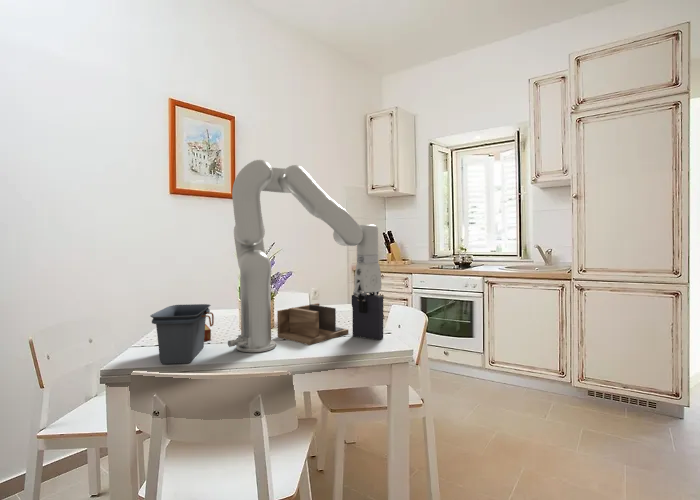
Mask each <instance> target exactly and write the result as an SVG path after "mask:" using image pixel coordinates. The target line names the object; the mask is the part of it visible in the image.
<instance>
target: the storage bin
mask: <svg viewBox="0 0 700 500" xmlns="http://www.w3.org/2000/svg"><path fill="white" fill-rule="evenodd" d="M211 306H212V305H211V304H207V303H206V304H205V303H204V304H202V303H201V304H200V303H199V304H196V303H195V304H194V303H193V304H192V303H191V304H173V305H169V306H166V307H165V308H162V309H160V310H158V311H156V312H154V313H152V314H150V316H149V317H151V318H152V319H151V324H153V325H155V326H156V334H157V335H156V336H157V344H158V353H159V354H158V355H159V362H160V363H161V364H163V365H164V364H165V365H167V364H170V365H171V364H188V363H191V362H192V361H194V359H195V358H196V357H197V355H198V354H199V353H200V352H201V351H202V350H203V349H204V346H205V341H204V334H205V324H206V320H207V318H208V320H209V321H208V322H209V327H213V326H214V322H215V321H214V319H215V317H214V313H213V312H210V311H211V310H210V307H211ZM210 315H211V316H210Z"/></svg>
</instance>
